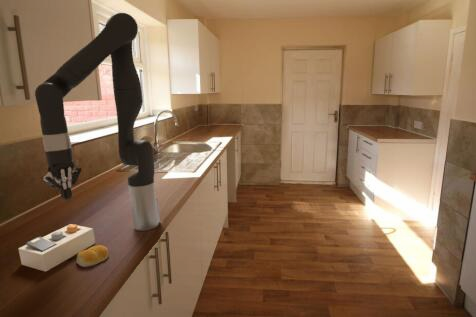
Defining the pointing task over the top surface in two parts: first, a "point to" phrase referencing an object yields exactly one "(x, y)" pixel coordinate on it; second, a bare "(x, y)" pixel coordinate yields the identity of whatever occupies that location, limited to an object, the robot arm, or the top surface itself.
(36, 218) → the top surface
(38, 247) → the rocker
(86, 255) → the bread roll
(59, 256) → the console
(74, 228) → the orange button
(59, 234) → the grey button
